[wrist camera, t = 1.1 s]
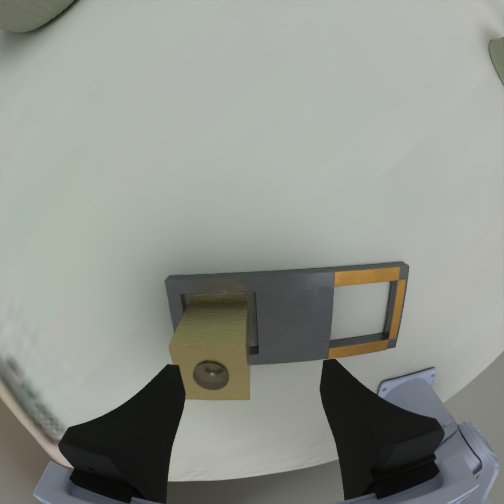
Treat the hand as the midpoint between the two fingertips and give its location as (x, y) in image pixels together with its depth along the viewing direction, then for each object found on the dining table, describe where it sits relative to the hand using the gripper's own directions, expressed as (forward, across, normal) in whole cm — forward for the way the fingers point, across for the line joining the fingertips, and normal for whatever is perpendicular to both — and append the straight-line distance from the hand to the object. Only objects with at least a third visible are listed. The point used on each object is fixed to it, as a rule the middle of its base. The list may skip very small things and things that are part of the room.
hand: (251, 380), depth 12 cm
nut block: (+10, +2, +2) cm, 10 cm away
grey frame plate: (+10, -4, +2) cm, 11 cm away
